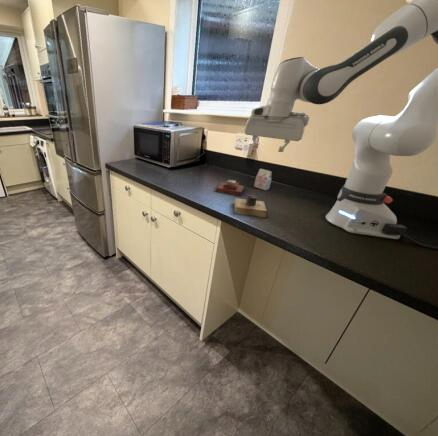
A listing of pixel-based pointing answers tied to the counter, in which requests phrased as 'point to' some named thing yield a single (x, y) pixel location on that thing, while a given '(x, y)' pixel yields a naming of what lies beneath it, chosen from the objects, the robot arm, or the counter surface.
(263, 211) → the volume panel
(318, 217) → the counter surface
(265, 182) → the small white box
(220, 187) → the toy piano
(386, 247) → the counter surface
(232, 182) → the key
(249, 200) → the volume dial
